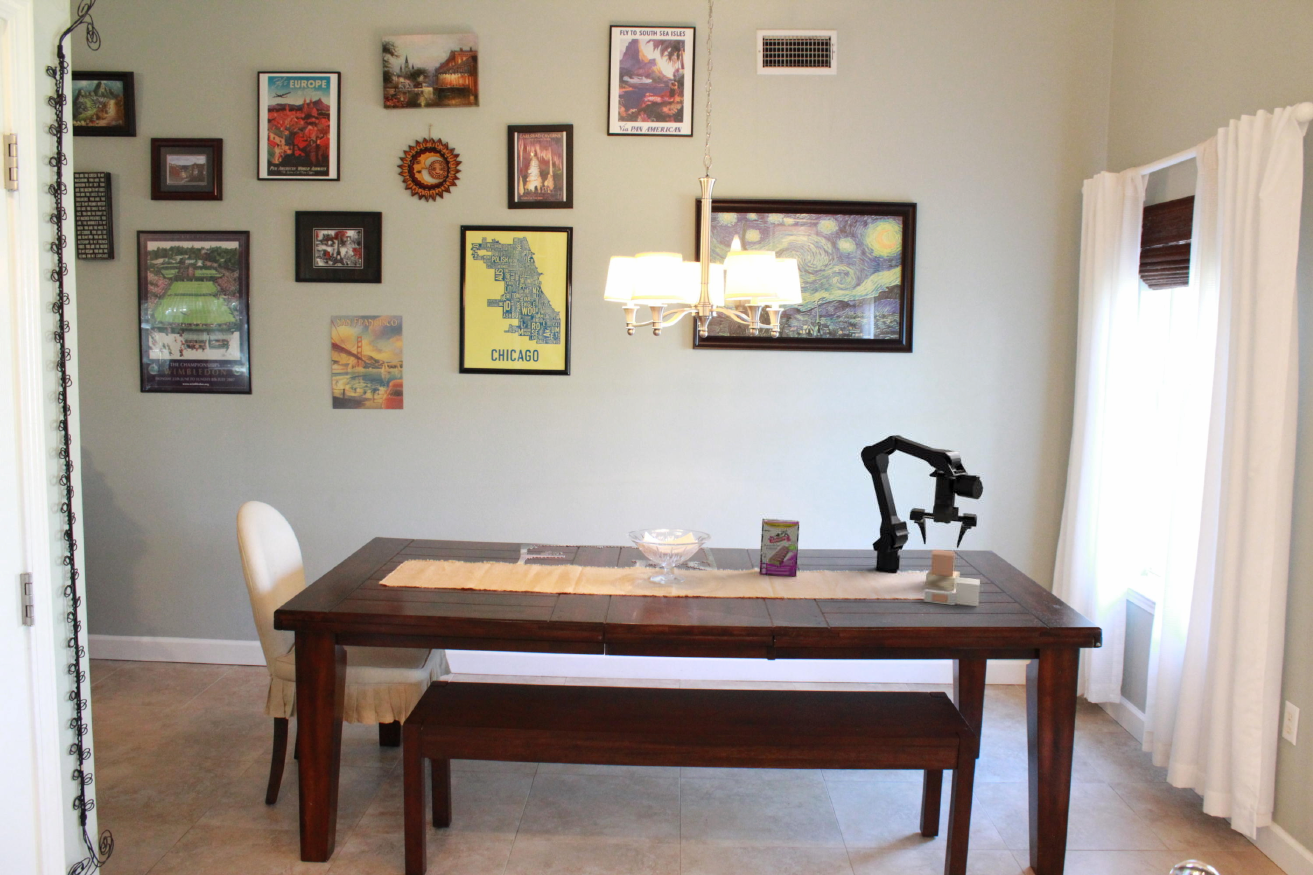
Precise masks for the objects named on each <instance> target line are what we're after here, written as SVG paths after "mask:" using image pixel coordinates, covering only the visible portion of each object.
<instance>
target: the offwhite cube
mask: <svg viewBox="0 0 1313 875" xmlns="http://www.w3.org/2000/svg"><path fill="white" fill-rule="evenodd" d="M980 581H981V579H977V578H968V577H957V581H956V589H955V593H956V595H955V605H956V604H957V605H962V606H963V605H964V606H973V607H974V606H975V607H979V601H980V587H981V585H980V584H981V583H980Z"/></svg>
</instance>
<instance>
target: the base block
mask: <svg viewBox="0 0 1313 875" xmlns="http://www.w3.org/2000/svg"><path fill="white" fill-rule="evenodd" d="M960 576H961V572H960V571H956V570H954V571H953V577H952V576H943V575H934V574H931V569H930V570H928V572H927V573H926V575H925V587H928V588H934V589H942V590H949V591H956V581H957V577H960Z"/></svg>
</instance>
